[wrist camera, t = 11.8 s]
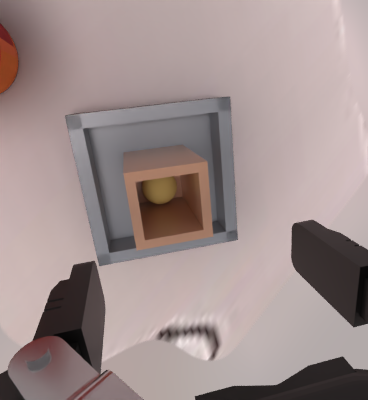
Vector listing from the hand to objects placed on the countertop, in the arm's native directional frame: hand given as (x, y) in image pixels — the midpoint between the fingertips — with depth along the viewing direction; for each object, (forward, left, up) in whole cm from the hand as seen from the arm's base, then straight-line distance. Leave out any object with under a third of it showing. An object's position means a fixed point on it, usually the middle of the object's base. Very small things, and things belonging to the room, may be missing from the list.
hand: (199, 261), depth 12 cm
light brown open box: (0, 0, -15) cm, 15 cm away
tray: (0, 0, -16) cm, 16 cm away
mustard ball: (0, 0, -14) cm, 14 cm away
